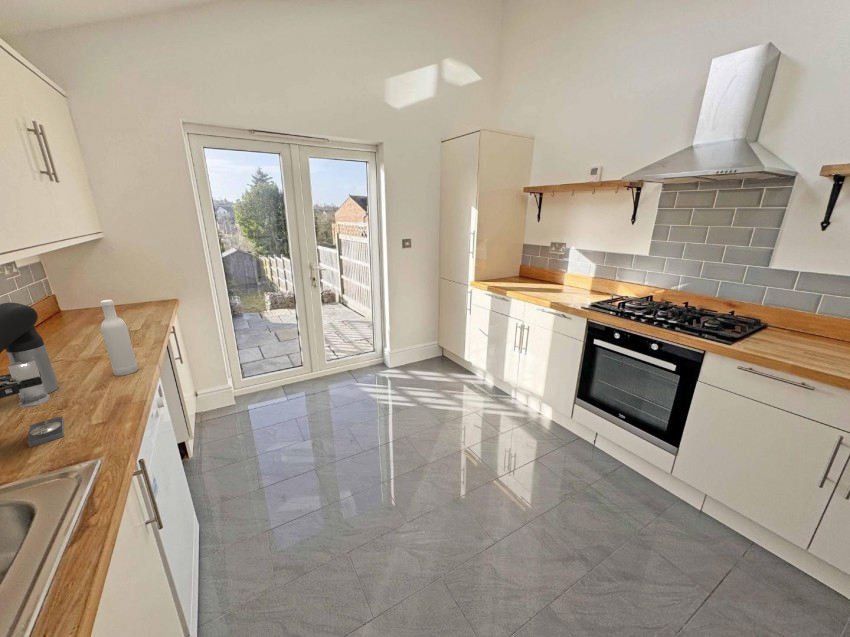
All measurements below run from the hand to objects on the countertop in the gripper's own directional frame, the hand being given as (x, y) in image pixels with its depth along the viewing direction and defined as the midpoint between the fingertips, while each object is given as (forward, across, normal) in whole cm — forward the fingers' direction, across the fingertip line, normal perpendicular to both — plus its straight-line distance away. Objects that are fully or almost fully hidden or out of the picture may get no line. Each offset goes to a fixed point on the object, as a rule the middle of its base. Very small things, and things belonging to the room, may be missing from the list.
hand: (40, 377), depth 104 cm
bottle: (+22, -35, -17) cm, 45 cm away
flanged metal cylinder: (-3, 0, -7) cm, 7 cm away
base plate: (-2, 0, -17) cm, 18 cm away
